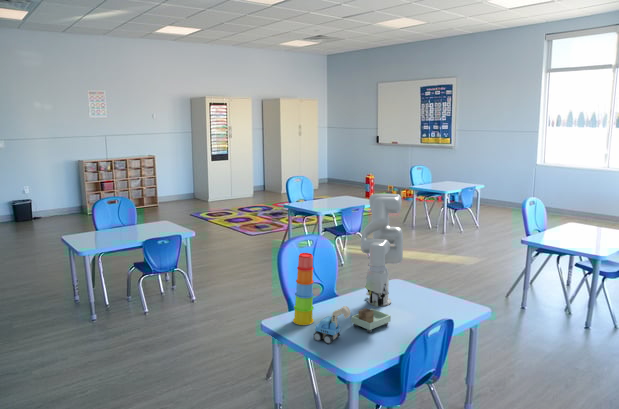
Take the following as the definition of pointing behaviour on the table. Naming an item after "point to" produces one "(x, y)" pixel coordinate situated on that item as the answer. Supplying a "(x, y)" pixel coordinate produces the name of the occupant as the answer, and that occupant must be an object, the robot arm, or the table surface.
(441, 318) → the table surface
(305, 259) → the stacking cups
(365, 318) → the walnut block
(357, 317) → the parts cart
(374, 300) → the grey metal cylinder
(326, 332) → the toy excavator
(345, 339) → the table surface
